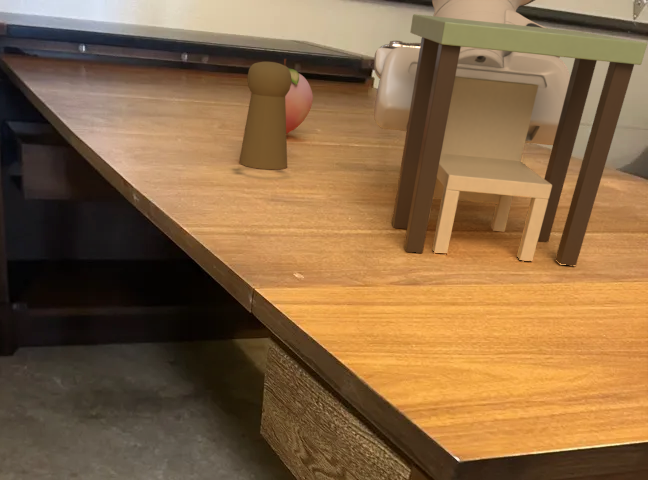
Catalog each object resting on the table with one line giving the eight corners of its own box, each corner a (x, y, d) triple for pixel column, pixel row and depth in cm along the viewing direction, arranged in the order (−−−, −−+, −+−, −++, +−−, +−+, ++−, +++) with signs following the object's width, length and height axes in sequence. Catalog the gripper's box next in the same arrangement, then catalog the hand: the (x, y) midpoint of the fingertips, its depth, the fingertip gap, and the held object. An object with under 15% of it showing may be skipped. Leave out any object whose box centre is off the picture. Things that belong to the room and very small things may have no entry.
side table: (532, 225, 86) (581, 31, 76) (581, 269, 73) (648, 43, 63) (382, 211, 85) (413, 14, 75) (404, 254, 72) (444, 21, 62)
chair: (501, 228, 83) (536, 84, 76) (532, 262, 74) (575, 99, 66) (415, 220, 83) (440, 74, 76) (433, 253, 73) (465, 88, 66)
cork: (252, 157, 104) (259, 58, 98) (295, 165, 102) (304, 65, 96) (229, 163, 100) (235, 59, 94) (274, 171, 98) (282, 66, 92)
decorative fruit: (237, 130, 121) (241, 53, 115) (285, 131, 125) (292, 56, 119) (267, 143, 114) (273, 61, 109) (317, 143, 118) (325, 64, 112)
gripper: (381, 15, 82) (377, 137, 79) (579, 36, 83) (581, 157, 81) (369, 62, 88) (365, 177, 86) (553, 81, 89) (555, 195, 87)
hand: (472, 168), depth 83 cm, fingers closed
